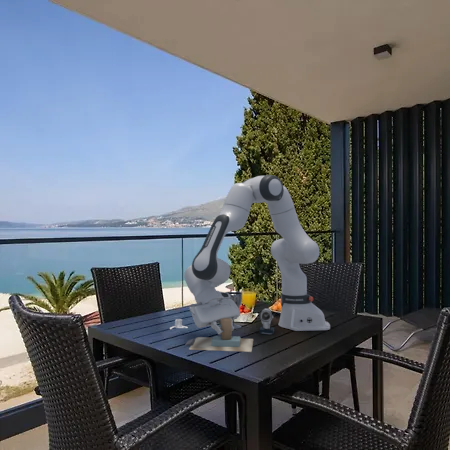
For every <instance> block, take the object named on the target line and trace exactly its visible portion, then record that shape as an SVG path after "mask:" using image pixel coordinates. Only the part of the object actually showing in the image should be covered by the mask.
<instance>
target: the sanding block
mask: <svg viewBox="0 0 450 450" xmlns="http://www.w3.org/2000/svg"><path fill="white" fill-rule="evenodd" d="M232 322H233V320H232V319H230V318H222V319H221V323H220V328H221V327H222V330H223V333H222V334H220V335H213V336H212V337H211V338H212V346H222V347H240V338H241V336H239V335H238V336H237V335H236V336H234V335H233V333H232V332H233V331H232Z"/></svg>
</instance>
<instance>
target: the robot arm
mask: <svg viewBox="0 0 450 450" xmlns="http://www.w3.org/2000/svg"><path fill="white" fill-rule="evenodd" d="M254 203H256V204H257V203H258V204H260V203H261V204H262V203H266V205H267V208H268V213H269V215H270V218H271V221H272V226H273V228H274V231H275V232H276V233H277V234H279V235H280V237H282V238H279V239H276V240H274V241H273V242H272V243H271V245H270V254H271V256H272V258H273V259H275V261H276V263H277V266H278V269H279V272H280V277H281V294H280V306H281V310H280V317H279V321H278V326H279V327H281V328H285V329H289V330H292V331H293V332H294V331H295V332H300V331H301V332H302V331H303V332H304V331H305V332H307V331H328V330H329V331H330V330H331V324H330V322H328V321H326V319H325V318H326V317H325V314H324V312H323V310H321V309H320V308H319V307H317V306H316V305H315V303H312V302H313V301H314V297H313V296H311V295H310V294H308V287H307V286H308V281H307V280H308V278H307V275H306V274H305V273H304V272H303V270H302V269H301V266H300V264H301V265H308V264H312V263H315V262H316V261H317V260H318V259H319V255H320V247H319V245H318V243H317V242H316V241H314V240H313V239H312V238H311V237H310V236H309V235H308V234H307V233H306V231H305V230H304V229H303V226H302V225H301V223H300V221H299V217H298V215H297V212H296V208H295V204H294V202H293V199H292V197H291V194H290V192H289V190H288V188H287V187H286V186H284V185H283V182H282V180H281V179H280V178H279V177H278V176H277V175H272V174H266V175H257V176H255V177H251V178H247V179H245V180H243V181H242V182H236V183H234V184H232V186H231V187H230V189H229V190H228V192H227V195H226V197H225V199H224V202H223V206H222V208H221V210H220V212H219V214H218V215H217V216H216V218H215V219H213V221H212V224H211V226H210V228H209V230H208V232H207V234H206V237H205V239H204V241H203V244H202V246H201V247H200V249H199V251H198V252H197V253H196V255H195V256H194V258H193V260H192V263H191V264H190V265H189V266H188V267H187V268H186V269H185V270H184V274H183V275H184V280H185V284H186V285H187V288H188V290H189V292H190V293H191V294H192V295H193V296H194V301H195V302H196V303H192V304H190V306H189V307H188V309H189V311H190V313H191V317H192V319H193V322H194V324H195V326H196V327H197V328H198V329H201V328H205V327H210V328H211V329H213V331H216V333H217V335H221V334H222V333H223V330H222V327H221V326H219V324H221V319H222V318H230V319H232V321H233V320H234V321H235V320H237V319H239V317H240V316H241V311H240V307H239V308H238V307H237V305H236V304H235V302H234V301H233V300H232V299H229V298H230V294H229V293H225V292H226V291H224V292H223V291H219V290H217V289H216V288H217V287H219V286H221V285H222V284H224V283H226V282H227V281H228V280H229V279H230V276H231V271H232V270H231V266H230V265H229V263H227V261H225V260H223V259H221V258H218V252H219V249H220V248H221V246H222V243H223V240H224V238H225V236H226V235H227V234H228V233H230V232H236V231H240V230H241V229H242V228H244V227H245V225H246V223H247V221H248V217H249V215H250V211H251V208H252V205H253V204H254ZM234 330H235V329H234V327H233V325H232V332H234Z"/></svg>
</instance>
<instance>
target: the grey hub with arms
mask: <svg viewBox="0 0 450 450" xmlns="http://www.w3.org/2000/svg"><path fill="white" fill-rule="evenodd" d="M173 328H176V329H188V328H189V327H188V326H185V325H183V319H182V318H177V319H174V325H173V326H170V327H169V330H172V329H173Z"/></svg>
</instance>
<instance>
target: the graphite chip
mask: <svg viewBox="0 0 450 450" xmlns="http://www.w3.org/2000/svg"><path fill="white" fill-rule="evenodd" d="M195 339H196V338H192V339H189V340H187V341H186V343H185V344H184V346H190V347H191V345H193V343H194V342H195Z"/></svg>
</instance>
